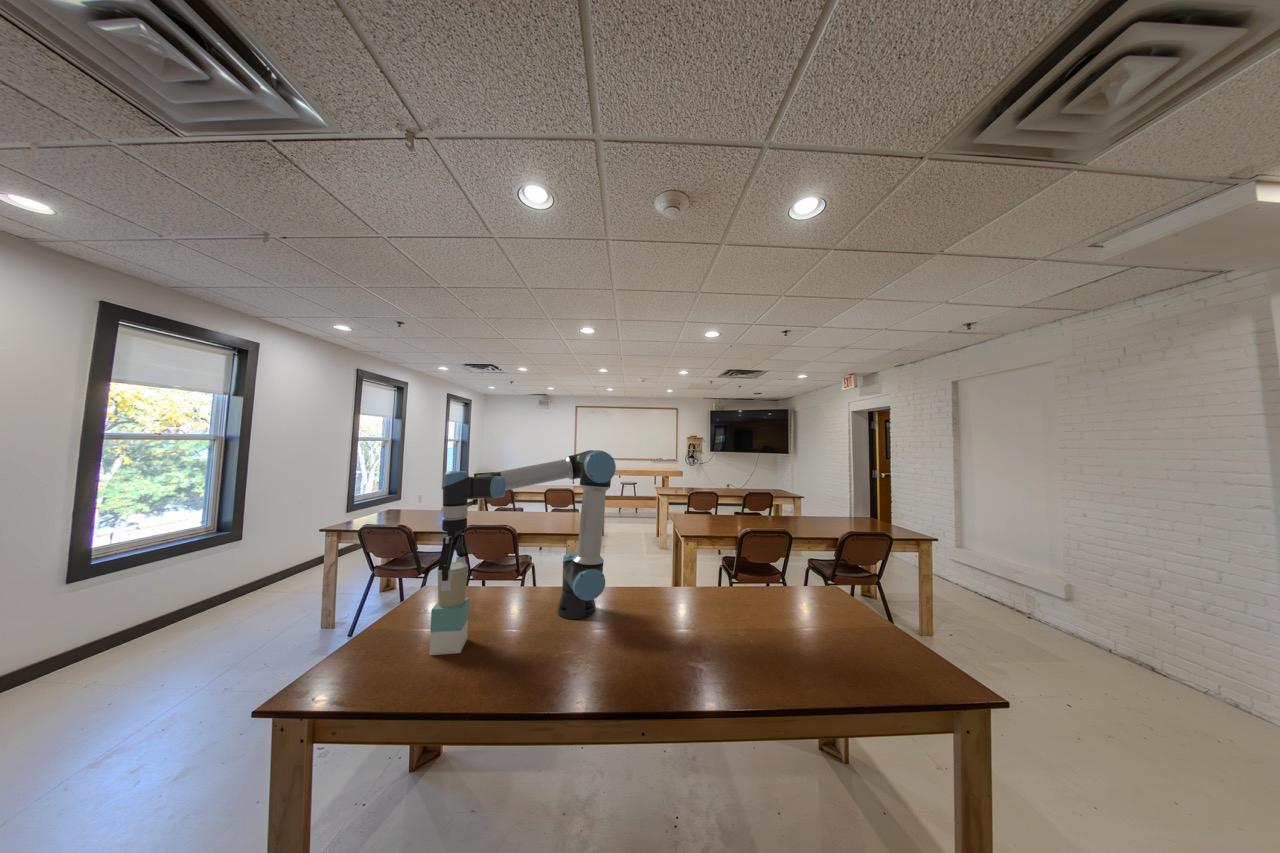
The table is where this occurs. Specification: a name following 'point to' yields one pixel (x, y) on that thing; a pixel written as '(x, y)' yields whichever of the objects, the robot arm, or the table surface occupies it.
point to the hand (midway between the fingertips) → (453, 583)
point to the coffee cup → (454, 586)
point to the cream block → (448, 641)
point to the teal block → (449, 617)
